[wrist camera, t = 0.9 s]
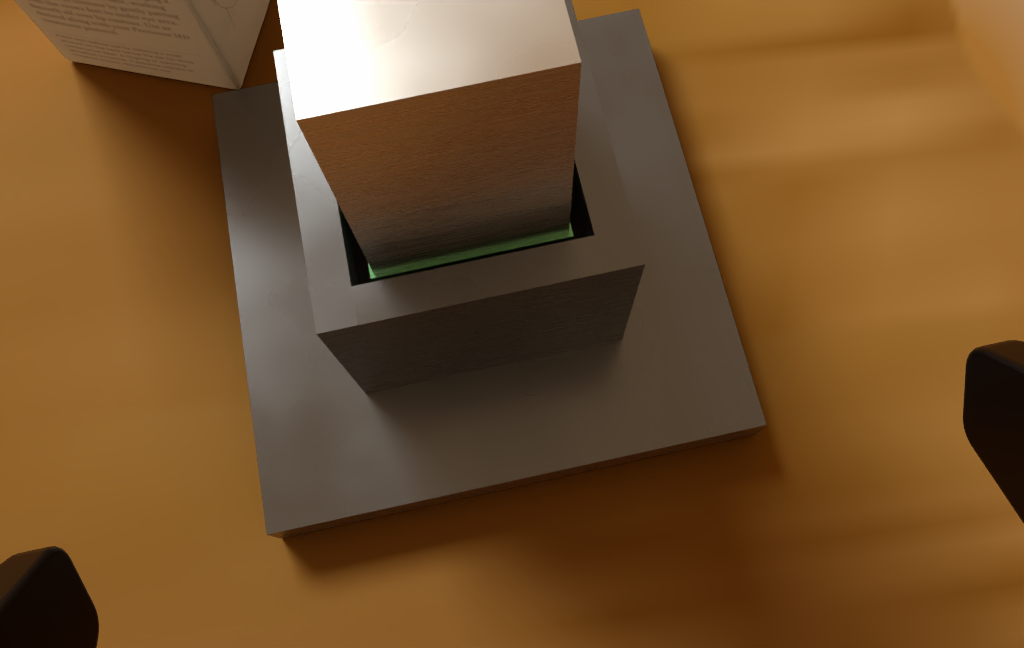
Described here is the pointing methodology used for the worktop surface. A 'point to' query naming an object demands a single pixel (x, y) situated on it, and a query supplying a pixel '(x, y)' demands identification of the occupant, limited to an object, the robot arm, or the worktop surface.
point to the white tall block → (439, 123)
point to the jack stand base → (479, 317)
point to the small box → (156, 35)
